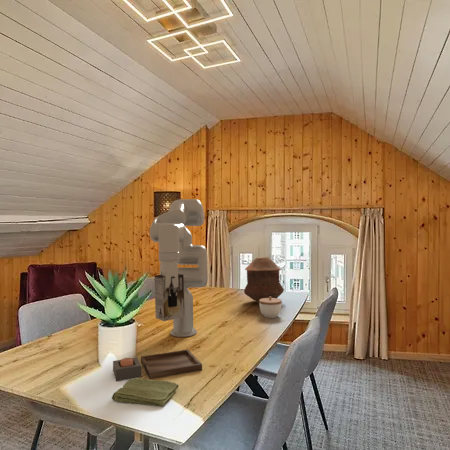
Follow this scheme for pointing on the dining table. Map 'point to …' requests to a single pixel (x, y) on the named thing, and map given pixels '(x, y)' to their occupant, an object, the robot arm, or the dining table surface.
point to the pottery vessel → (263, 279)
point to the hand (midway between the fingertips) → (169, 303)
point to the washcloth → (145, 392)
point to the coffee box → (162, 299)
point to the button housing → (127, 370)
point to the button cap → (126, 362)
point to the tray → (170, 364)
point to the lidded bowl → (270, 307)
